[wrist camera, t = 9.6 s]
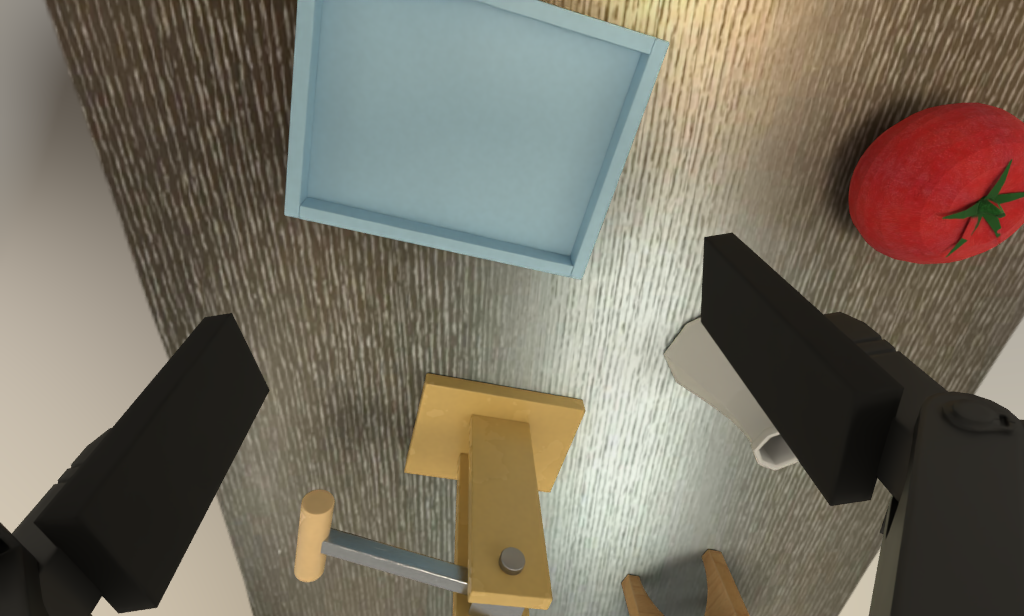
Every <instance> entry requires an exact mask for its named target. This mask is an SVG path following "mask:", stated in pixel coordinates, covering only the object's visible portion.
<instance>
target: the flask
mask: <svg viewBox="0 0 1024 616" xmlns="http://www.w3.org/2000/svg"><path fill="white" fill-rule="evenodd" d="M664 356H665V358H666V360H667V363H668V365H669V367H670V370H671V372H672V374H673V377H674V379H675V381H676V382H677V383H679V384H680V385H681V386H683V387H684V388H686V389H687V390H689V391H690V392H692V393H693V394H695V395H696V396H698V397H699V398H701V399H702V400H704V401H705V402H707V403H708V404H709V405H711V406H712V407H714V408H715V409H716V410H718V411H719V412H720V413H722V414H723V415H725V416H726V417H727V418H729V419H730V420H731V421H732V422H733V423H734V424H735V425H736V426H737V427H738V428H739V429H740V430H741V431H742V432H743V433H744V434H745V436H746V437H747V438H748V439H749V441H750V443H751V448H752V451H753V453H754V456H755V459H756V462H757V463H758V465H761V466H764V467H767V468H769V469H772V470H778V469H780V468H783V467H786V466H789V465H791V464H794V463H796V462H797V461H798V459H797V458H796V456H795V455H794V454H793V452H792V451H791V449H790V448H789V446H788V445H787V444H786V442H785V441H784V439H783V438H782V437H781V435H780V434H779V432H778V431H777V429H776V428H775V427H774V425H773V424H772V422H771V421H770V420H769V418H768V417H767V415H766V414H765V412H764V411H763V410H762V408H761V407H760V405H759V404H758V403H757V401H756V400H755V398H754V397H753V395H752V394H751V393H750V391H749V390H748V388H747V387H746V386H745V384H744V383H743V381H742V380H741V378H740V377H739V376H738V374H737V373H736V371H735V370H734V369H733V367H732V366H731V364H730V363H729V361H728V360H727V359H726V357H725V356H724V354H723V353H722V352H721V350H720V349H719V347H718V346H717V344H716V343H715V342H714V340H713V339H712V337H711V336H710V335H709V333H708V332H707V330H706V329H705V327H704V326H703V325H702V323H701V318H698V319H696V320H694V321H691V322H689V323H687V324H686V325H685V327H684V328H683V329H682V330H681V332H680V333H679V334H678V336H677V337H676V338H675V340H674V341H673V342H672V344H671V345H670V346H669V348H668V349H667V350H666V352H665V353H664Z"/></svg>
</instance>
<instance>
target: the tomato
mask: <svg viewBox="0 0 1024 616" xmlns="http://www.w3.org/2000/svg"><path fill="white" fill-rule="evenodd" d="M849 213H850V216H851V219H852V222H853V224H854V225H855V227H856V228H857V230H858V231H859V233H860V234H861V235H862V237H863V238H864V239H865V241H866V242H867V243H868V244H869V245H870V246H871V247H873V248H874V249H875V250H876V251H878V252H880V253H882V254H884V255H887V256H889V257H891V258H894V259H897V260H903V261H908V262H913V263H919V264H936V263H950V262H955V261H960V260H963V259H966V258H969V257H972V256H974V255H977V254H980V253H983V252H985V251H987V250H989V249H991V248H993V247H995V246H997V245H998V244H1000V243H1001V242H1003V241H1004V240H1006V239H1007V238H1008V237H1010V236H1011V235H1012V234H1013V233H1014V232H1015V231H1017V230H1018V229H1019V228H1020V226H1021V225H1022V224H1023V223H1024V123H1023V122H1022V121H1020V120H1019V119H1018V118H1016V117H1015V116H1013V115H1012V114H1010V113H1008V112H1006V111H1005V110H1003V109H1000V108H997V107H994V106H990V105H986V104H981V103H957V104H947V105H940V106H936V107H931V108H927V109H924V110H922V111H919V112H917V113H914V114H912V115H910V116H909V117H907V118H905V119H904V120H902V121H900V122H898V123H897V124H895V125H894V126H892V127H890V128H889V129H887V130H886V131H885V132H884V133H882V134H881V135H880V136H879V137H877V139H876V140H875V141H874V142H873V143H872V144H871V145H870V146H869V147H868V148H867V150H866V151H865V152H864V154H863V155H862V156H861V158H860V160H859V161H858V163H857V165H856V167H855V169H854V172H853V175H852V178H851V181H850V188H849Z"/></svg>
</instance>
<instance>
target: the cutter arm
mask: <svg viewBox="0 0 1024 616" xmlns="http://www.w3.org/2000/svg"><path fill="white" fill-rule="evenodd" d="M333 509H334V497H333V496H332V494H331V493H329V492H328V491H326V490H313V491H311V492H309V493H307V494H306V495H305V496H304V498H303V499H302V503H301V512H300V522H299V531H298V540H297V549H296V558H295V567H294V573H295V576H296V577H297V578H298V579H299V580H300V581H303V582H312V581H314V580H316V579H318V578H319V577H320V576H321V575H322V573H323V571H324V567H325V561H326V555H329V556H332V557H336V558H339V559H342V560H346V561H349V562H353V563H356V564H360V565H363V566H367V567H370V568H374V569H377V570H380V571H384V572H387V573H391V574H394V575H398V576H401V577H405V578H408V579H412V580H415V581H418V582H422V583H425V584H429V585H432V586H436V587H439V588H443V589H446V590H450V591H453V592H456V593H460V594H463V595H467V596H468V568H467V567H464V566H460V565H457V564H454V563H450V562H447V561H443V560H440V559H436V558H433V557H429V556H426V555H423V554H419V553H416V552H412V551H409V550H405V549H402V548H398V547H395V546H392V545H388V544H385V543H381V542H378V541H374V540H371V539H368V538H364V537H361V536H357V535H354V534H350V533H347V532H343V531H340V530H337V529H333V528H331V522H332V515H333ZM524 609H525V608H522V607H512V606H501V605H490V604H480V603H470V607H469V612H468V614H469V615H471V616H521V615H522V613H523V611H524Z"/></svg>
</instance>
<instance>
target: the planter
mask: <svg viewBox="0 0 1024 616" xmlns="http://www.w3.org/2000/svg"><path fill="white" fill-rule="evenodd" d="M702 560H703V563H704V566H705V571H706V577H707V586H708V595H707V605H706V611H705V615H704V616H749V613H748V611H747V609H746V607H745V604H744V602H743V600H742V598H741V595H740V593H739V591H738V589H737V587H736V584H735V582H734V580H733V578H732V575H731V573H730V571H729V569H728V566H727V564H726V562H725V560H724V558H723V555H722V553H721V552H719V551H715V550H710V549H708V550H707V551H706V552H705V553H704V554H703V556H702ZM621 584H622V588H623V592H624V596H625V600H626V604H627V608H628V612H629V615H630V616H664V615H663V614H662V613H661V612H660V611H659V610H658V608H657V607H656V606H655V605H654V604H653V602H652V601H651V599H650V598H649V597H648V595H647V593H646V591H645V590H644V588H643V586H642V583H641V581H640V577H639V576H634V575H629V574H628V575H627V576H626V578H625V579H624V580H623V582H622V583H621Z"/></svg>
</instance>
